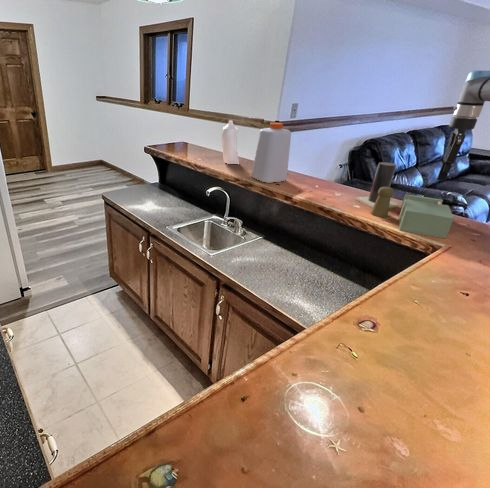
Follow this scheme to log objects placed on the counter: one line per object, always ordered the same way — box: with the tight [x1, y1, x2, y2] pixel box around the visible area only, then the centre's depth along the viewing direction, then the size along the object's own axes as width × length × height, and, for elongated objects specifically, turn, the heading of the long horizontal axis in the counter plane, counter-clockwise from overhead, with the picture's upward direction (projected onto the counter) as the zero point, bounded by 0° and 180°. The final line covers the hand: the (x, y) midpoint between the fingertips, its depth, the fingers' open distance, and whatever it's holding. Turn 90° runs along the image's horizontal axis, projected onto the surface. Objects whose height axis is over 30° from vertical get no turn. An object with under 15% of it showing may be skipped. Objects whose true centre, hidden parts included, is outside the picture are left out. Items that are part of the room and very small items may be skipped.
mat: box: [354, 196, 400, 209], centre depth 151 cm, size 12×12×1 cm
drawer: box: [400, 193, 444, 209], centre depth 136 cm, size 18×12×6 cm
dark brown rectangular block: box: [368, 161, 397, 203], centre depth 147 cm, size 6×6×16 cm
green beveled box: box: [398, 199, 455, 240], centre depth 126 cm, size 15×14×8 cm
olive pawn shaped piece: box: [370, 186, 395, 218], centre depth 137 cm, size 6×6×11 cm
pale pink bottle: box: [221, 119, 240, 165], centre depth 207 cm, size 12×11×25 cm
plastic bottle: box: [251, 122, 292, 184], centre depth 176 cm, size 15×15×28 cm
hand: (441, 179), depth 139 cm, fingers closed
